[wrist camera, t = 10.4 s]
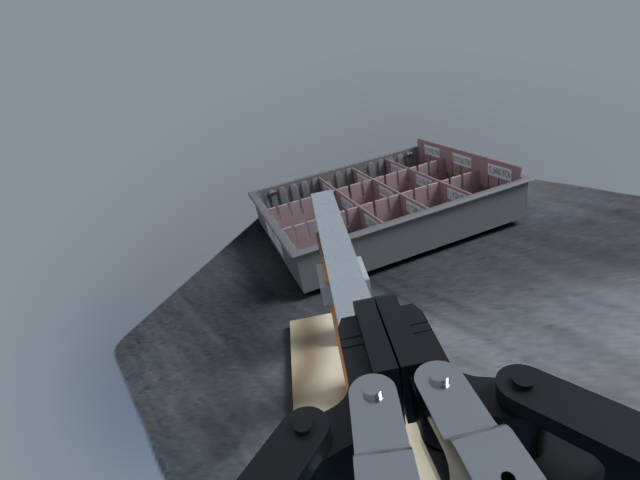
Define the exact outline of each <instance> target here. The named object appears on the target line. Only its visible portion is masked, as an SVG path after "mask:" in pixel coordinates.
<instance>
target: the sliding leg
mask: <svg viewBox="0 0 640 480" xmlns="http://www.w3.org/2000/svg"><path fill="white" fill-rule="evenodd" d="M357 259H358V262H359V265H360V268H361V270H362V273H363V276H364V279H365V281H366V284H367V287H368V290H369V292H370V295H371V296H372V293H371V286H370V279H369V276H368V274H367V271H366V269H365V266H364V263H363V261H362V258H361V256H358V257H357ZM316 268H317V274H318V280H319V286H320V291H321V296H322V301H323V306H324V305H329V304H330V309H331V314H332V319H333V324H334V329H335V334H336V339H337V344H338V349H339V354H340V359H341V364H342V369H343V374H344V379H345V384H346V389H347V391H348V378H347V373H346V368H345V363H344V359H343V354H342V349H341V344H340V339H339V334H338V329H337V328H338V322H337V318H336V313H335V308H334V303H333V299H332V294H331V289H330V284H329V280H328V275H327V270H326V265H325V263H322V264H317V265H316Z"/></svg>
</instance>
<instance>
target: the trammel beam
mask: <svg viewBox="0 0 640 480" xmlns="http://www.w3.org/2000/svg"><path fill="white" fill-rule="evenodd" d="M311 198H312V203H313V208H314V213H315V218H316V221H313V222H314V227H315V232H316V238H317V243H318V248H319V253H320V258H321V263H325V265H326V270H327V275H328V280H329V284H330V289H331V294H332V299H333V303H334V308H335V313H336V318H337V322H338V326H339V323H340V320H341V318H345V317H349V316H354V315H355V313H354V307H353V301H356V300H361V299H366V298H371V295H370V292H369V290H368V287H367V284H366V281H365V279H364V276H363V273H362V270H361V268H360V265H359V262H358V259H357V257H356V254H355V251H354V249H353V246H352V243H351V240H350V238H349V235H348V232H347V229H346V227H345V224H344V221H343V218H342V216H341V213H340V210H339V207H338V205H337V202H336V199H335V196H334V194H333V191H332V190H327V191H322V192H317V193H312V194H311Z"/></svg>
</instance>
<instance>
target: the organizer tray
mask: <svg viewBox="0 0 640 480" xmlns="http://www.w3.org/2000/svg"><path fill="white" fill-rule="evenodd" d="M417 140H418V146H415V147H411V148H407V149H404V150H400V151H396V152H393V153H389V154H386V155H382V156H378V157H375V158H371V159H368V160H364V161H361V162H357V163H353V164H349V165H346V166H342V167H339V168H335V169H331V170H328V171H324V172H321V173H317V174H314V175H310V176H306V177H303V178H299V179H295V180H292V181H288V182H285V183H281V184H278V185H274V186H270V187H267V188H263V189H259V190H256V191H252V192H249V193H248V195H249V197H250V198H251V200H252V201H253V203H254V204H255V206H256V210H257V214H258V217H259V221H260V224H261V225H262V227H263V228H264V230H265V232H266V233H267V235H268V236H269V238H270V240H271V241H272V243H273V244H274V246H275V248H276V249H277V251H278V253H279V254H280V256H281V257H282V259H283V261H284V262H285V264H286V265H287V267H288V269H289V270H290V272H291V273H292V275H293V277H294V278H295V280H296V282H297V283H298V285H299V286H300V288H301V290H302V291H303V293H304V294H305V293H307V292H310V291H313V290H316V289H319V288H320V286H319V280H318V274H317V268H316V265H317V264H322V263H321V258H320V253H319V248H318V243H317V238H316V232H315V227H314V222H313V221H316V218H315V213H314V208H313V203H312V198H311V194H312V193H317V192H322V191H327V190H332V191H333V194H334V196H335V199H336V202H337V205H338V207H339V210H340V213H341V216H342V218H343V221H344V224H345V227H346V229H347V232H348V235H349V238H350V240H351V243H352V246H353V249H354V251H355V254H356V257H358V256H361V258H362V261H363V263H364V266H365V269H366V271H367V272H368V271H371V270H374V269H377V268H380V267H383V266H385V265H388V264H391V263H394V262H397V261H400V260H403V259H406V258H409V257H411V256H414V255H417V254H420V253H423V252H426V251H429V250H432V249H435V248H437V247H440V246H443V245H446V244H449V243H452V242H455V241H458V240H461V239H464V238H466V237H469V236H472V235H475V234H478V233H481V232H484V231H487V230H490V229H492V228H495V227H498V226H501V225H504V224H507V223H510V222H513V221H516V220H518V219H521V218H524V217H526V211H527V191H528V182H530V181H533V180H535V179H534V178H532V177H529V176H525V175H522V167H521V166H517V165H514V164H510V163H507V162H503V161H499V160H496V159H492V158H489V157H485V156H481V155H478V154H474V153H471V152H467V151H463V150H460V149H456V148H452V147H449V146H446V145H442V144H438V143H435V142H431V141H428V140H424V139H420V138H418V139H417Z"/></svg>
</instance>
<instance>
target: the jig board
mask: <svg viewBox="0 0 640 480" xmlns="http://www.w3.org/2000/svg"><path fill="white" fill-rule="evenodd" d="M290 339H291V365H292V390H293V410H295V409H297V408H300V407H305V406H312V407H317V408H319V409H321V410H322V411H323V412H324V411H326V410H328V409H330V408H332V407H334V406H335V405H337V404H338V403H339V402H341V400H342V399H343V398H344V397H345V395H346V393H347V389H346V384H345V379H344V374H343V369H342V364H341V359H340V354H339V349H338V344H337V339H336V334H335V329H334V324H333V319H332V314H331V313H329V314H324V315H319V316H314V317H309V318H304V319H298V320H293V321H290ZM405 421H406V425H405V426H406V430H407V435H408V439H409V443H410V447H412V449H413V453H414V456H415V461H416V465H417V469H418V473H419V477H420V480H437V479H436V477H435V475H434V473H433V470H432V468H431V466H430V464H429V461H428V459H427V457H426V454H425V452H424V450H423V448H422V445H421V437H420V431H419V428H418V425H417V423H416V422H415V423H410V424H408V422H407V419H406V416H405Z"/></svg>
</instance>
